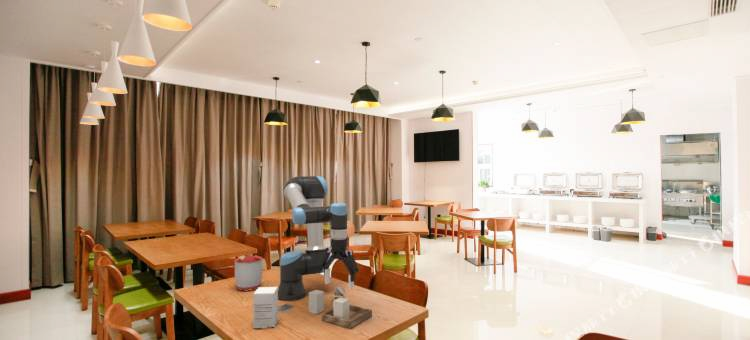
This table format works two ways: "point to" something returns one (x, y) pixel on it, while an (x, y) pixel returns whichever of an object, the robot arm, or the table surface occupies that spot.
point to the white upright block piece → (316, 301)
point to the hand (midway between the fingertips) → (339, 286)
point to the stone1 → (341, 308)
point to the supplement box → (265, 307)
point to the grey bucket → (248, 272)
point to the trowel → (285, 307)
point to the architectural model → (339, 292)
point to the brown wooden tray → (355, 315)
